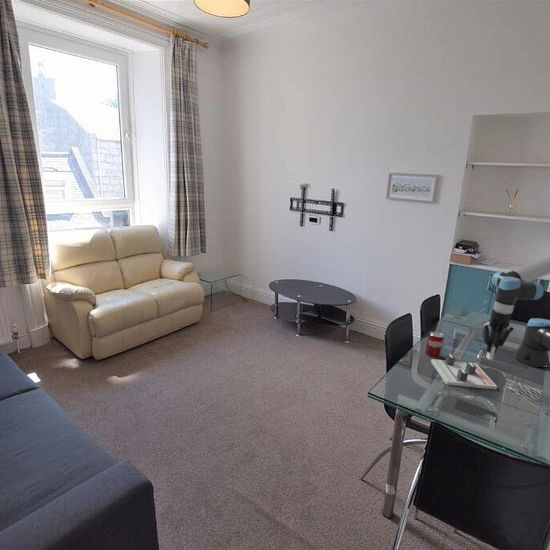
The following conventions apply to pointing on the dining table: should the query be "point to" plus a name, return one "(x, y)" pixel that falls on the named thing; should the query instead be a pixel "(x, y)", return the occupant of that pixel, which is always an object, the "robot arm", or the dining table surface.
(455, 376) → the panel
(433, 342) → the soda can
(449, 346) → the dining table surface
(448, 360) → the block
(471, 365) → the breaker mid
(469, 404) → the smartphone
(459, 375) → the block
